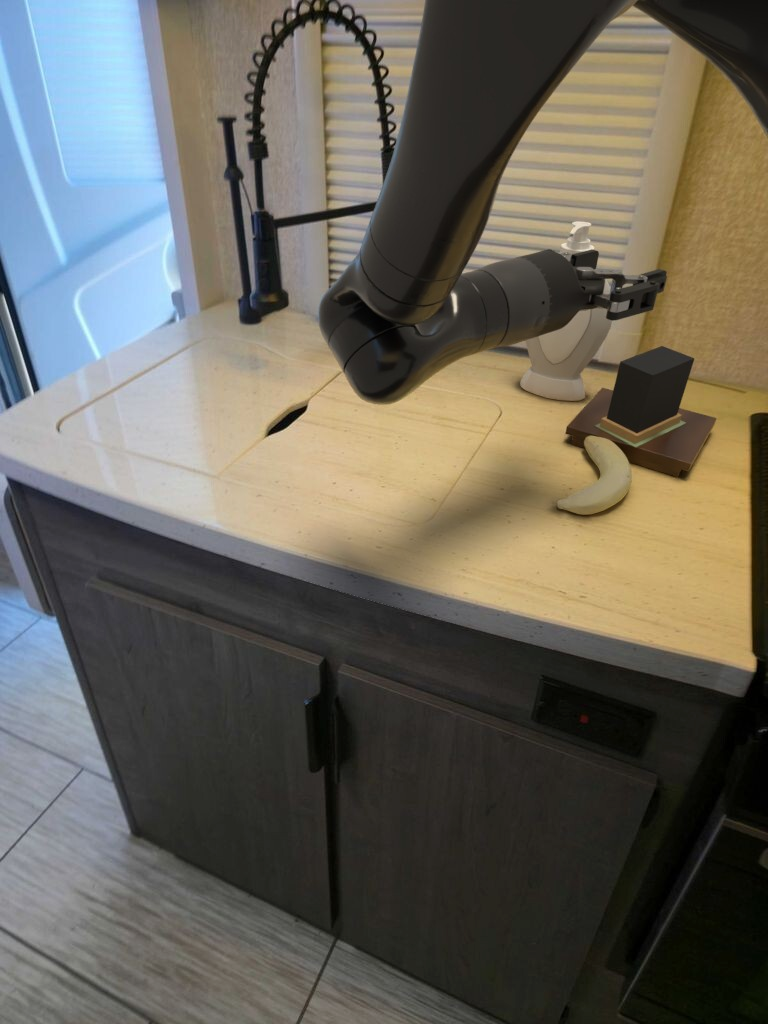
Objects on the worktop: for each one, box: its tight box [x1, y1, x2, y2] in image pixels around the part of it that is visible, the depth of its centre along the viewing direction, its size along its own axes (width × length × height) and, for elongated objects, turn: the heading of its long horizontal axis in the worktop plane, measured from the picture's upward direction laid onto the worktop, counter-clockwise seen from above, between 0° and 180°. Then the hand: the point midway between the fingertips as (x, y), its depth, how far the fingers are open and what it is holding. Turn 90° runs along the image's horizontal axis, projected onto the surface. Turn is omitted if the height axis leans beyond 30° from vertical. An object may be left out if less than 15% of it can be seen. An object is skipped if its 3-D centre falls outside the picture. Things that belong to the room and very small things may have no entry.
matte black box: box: [600, 345, 695, 444], centre depth 86 cm, size 10×6×9 cm, turn 126°
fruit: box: [556, 436, 633, 515], centre depth 81 cm, size 7×15×3 cm, turn 154°
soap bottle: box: [519, 220, 613, 402], centre depth 93 cm, size 13×8×24 cm, turn 63°
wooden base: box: [564, 387, 717, 478], centre depth 90 cm, size 16×14×3 cm
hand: (627, 269), depth 70 cm, fingers open, 8 cm apart
